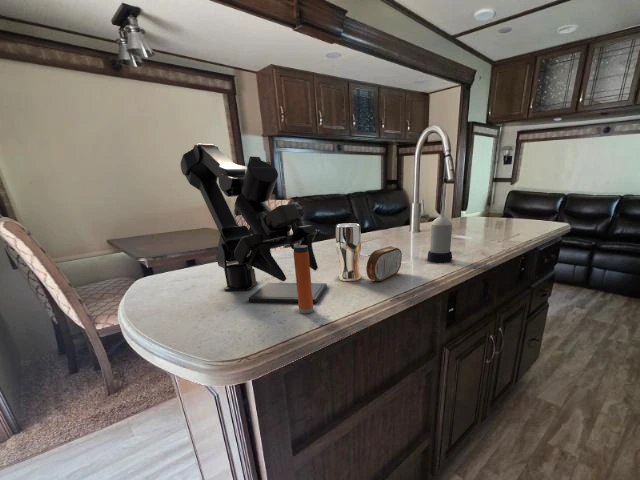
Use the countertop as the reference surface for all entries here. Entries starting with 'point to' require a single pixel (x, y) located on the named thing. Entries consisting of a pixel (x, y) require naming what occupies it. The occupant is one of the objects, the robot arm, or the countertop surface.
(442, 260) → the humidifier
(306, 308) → the orange cylinder
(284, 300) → the tablet
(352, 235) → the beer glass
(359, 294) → the countertop surface
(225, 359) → the countertop surface
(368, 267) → the tin
